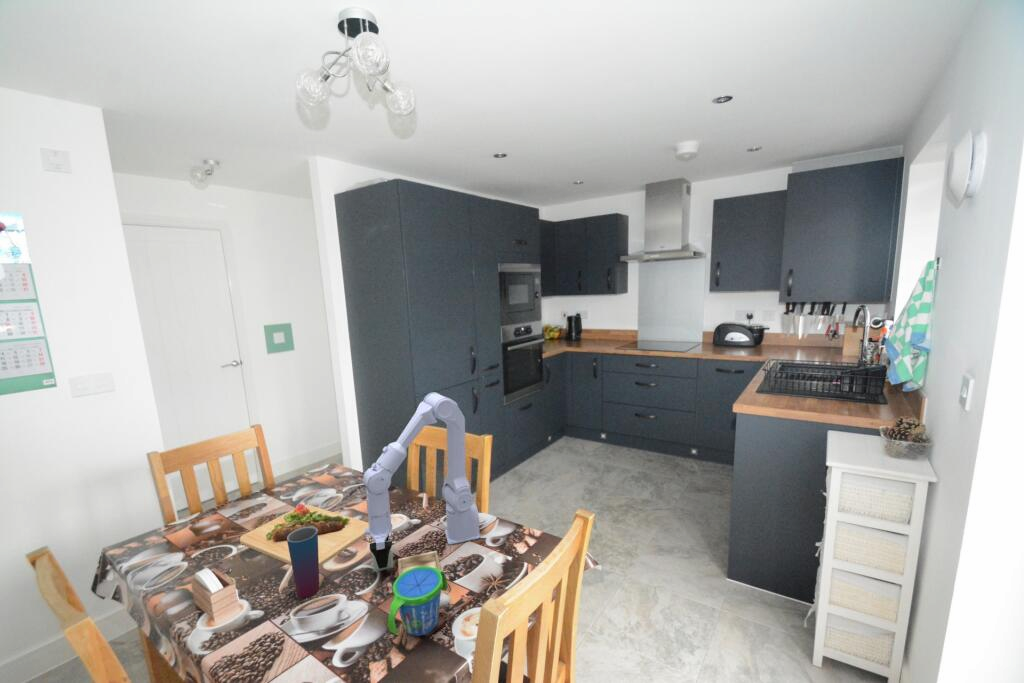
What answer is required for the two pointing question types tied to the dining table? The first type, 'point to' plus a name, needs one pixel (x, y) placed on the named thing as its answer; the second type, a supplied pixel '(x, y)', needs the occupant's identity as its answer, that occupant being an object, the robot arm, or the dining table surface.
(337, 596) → the dining table surface
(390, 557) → the small crate
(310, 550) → the cup
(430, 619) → the snack cup
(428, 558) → the beige wooden tray
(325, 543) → the cutting board
